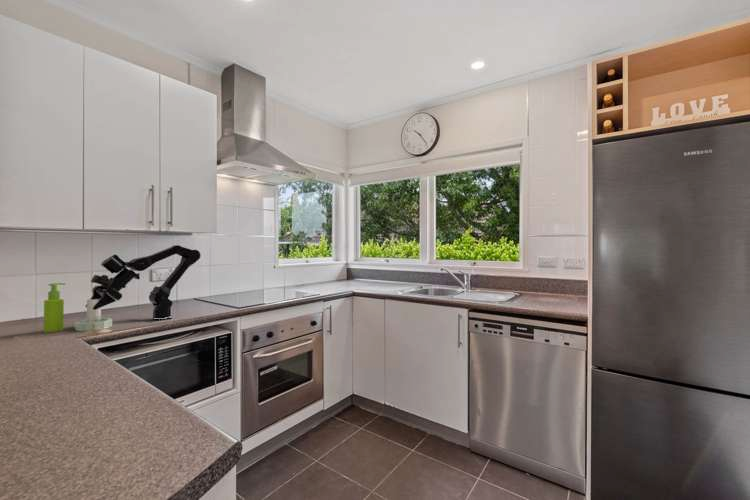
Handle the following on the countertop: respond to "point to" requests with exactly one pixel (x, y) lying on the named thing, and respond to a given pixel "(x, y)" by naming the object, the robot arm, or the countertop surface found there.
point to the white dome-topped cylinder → (93, 311)
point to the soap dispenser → (53, 310)
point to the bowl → (93, 324)
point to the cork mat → (96, 331)
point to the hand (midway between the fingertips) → (89, 308)
